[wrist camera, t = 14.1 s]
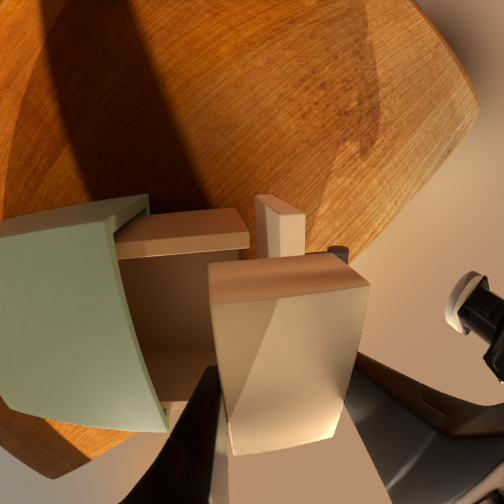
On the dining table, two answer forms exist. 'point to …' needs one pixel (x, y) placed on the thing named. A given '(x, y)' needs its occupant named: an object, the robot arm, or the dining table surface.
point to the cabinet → (72, 320)
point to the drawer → (192, 281)
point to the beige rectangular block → (285, 346)
